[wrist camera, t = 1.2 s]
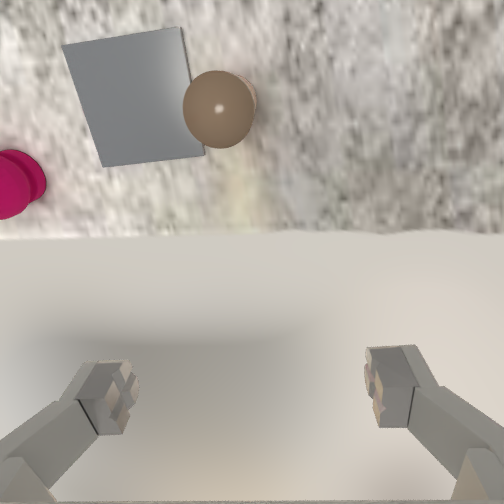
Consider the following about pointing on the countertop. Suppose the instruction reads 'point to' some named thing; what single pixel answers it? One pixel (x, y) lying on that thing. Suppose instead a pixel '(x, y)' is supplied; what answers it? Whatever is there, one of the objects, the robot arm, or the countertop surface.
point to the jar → (219, 108)
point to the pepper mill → (18, 182)
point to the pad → (135, 96)
